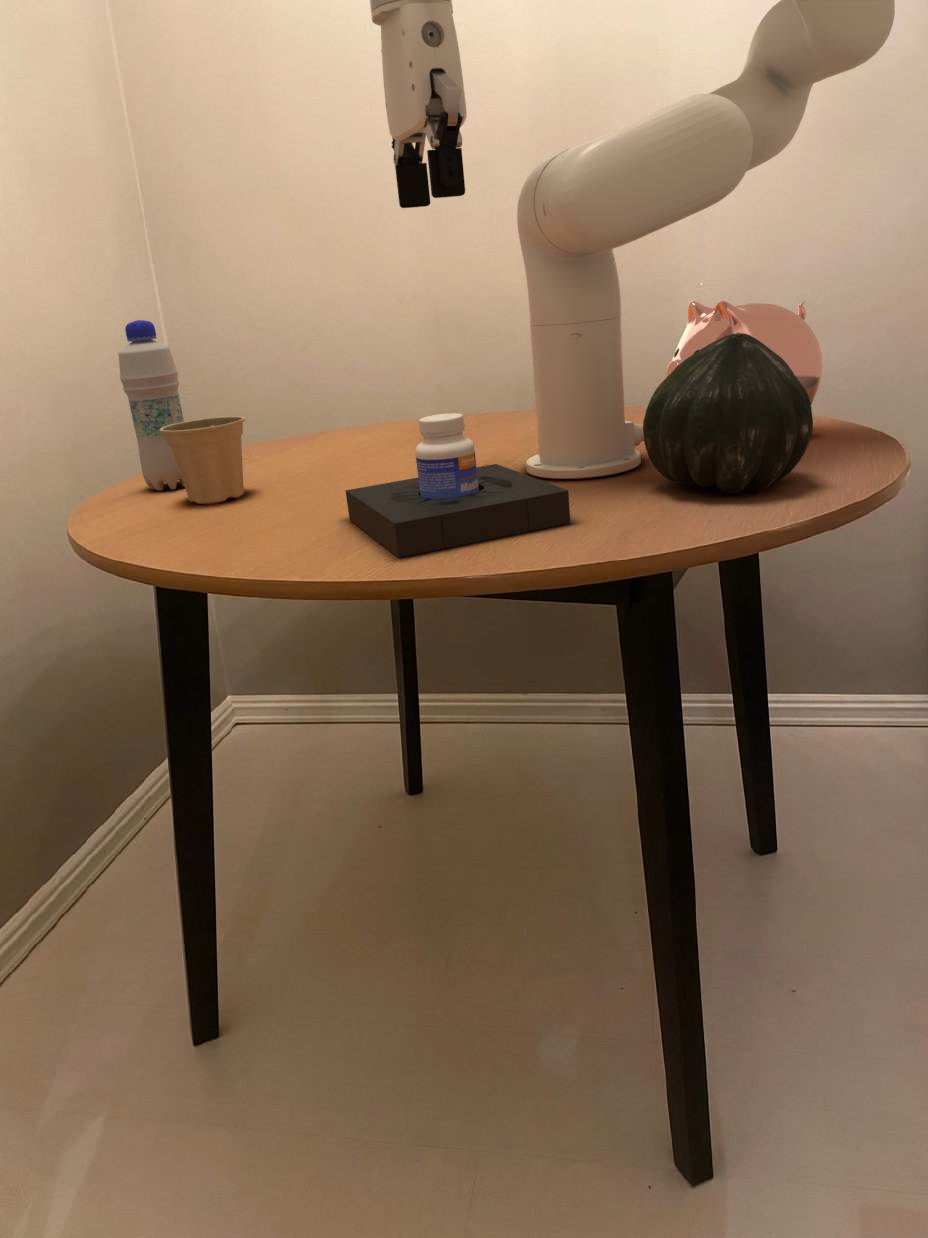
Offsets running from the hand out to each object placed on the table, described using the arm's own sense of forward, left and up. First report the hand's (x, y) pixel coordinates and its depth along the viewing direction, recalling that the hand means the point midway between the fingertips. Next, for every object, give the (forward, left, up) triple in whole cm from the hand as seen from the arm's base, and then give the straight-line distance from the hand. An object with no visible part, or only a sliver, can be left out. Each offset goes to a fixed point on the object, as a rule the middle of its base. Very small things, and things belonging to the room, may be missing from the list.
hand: (431, 201), depth 92 cm
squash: (-20, +20, -28) cm, 40 cm away
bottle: (+28, -28, -28) cm, 49 cm away
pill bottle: (+6, +14, -28) cm, 32 cm away
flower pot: (+24, -16, -28) cm, 41 cm away
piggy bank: (-35, +2, -28) cm, 45 cm away
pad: (+6, +14, -28) cm, 32 cm away
